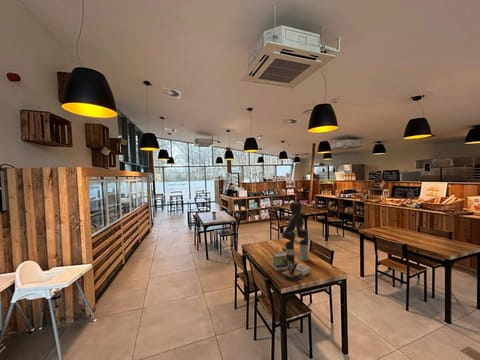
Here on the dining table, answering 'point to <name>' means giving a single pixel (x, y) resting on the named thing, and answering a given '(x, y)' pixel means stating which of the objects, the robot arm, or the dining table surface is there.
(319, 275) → the dining table surface
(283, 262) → the tea box
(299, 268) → the dish
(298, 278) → the mat
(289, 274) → the lid
